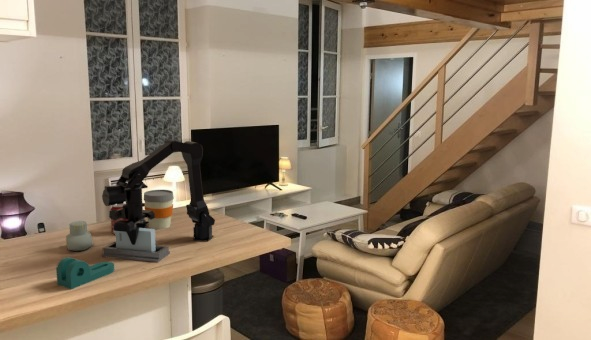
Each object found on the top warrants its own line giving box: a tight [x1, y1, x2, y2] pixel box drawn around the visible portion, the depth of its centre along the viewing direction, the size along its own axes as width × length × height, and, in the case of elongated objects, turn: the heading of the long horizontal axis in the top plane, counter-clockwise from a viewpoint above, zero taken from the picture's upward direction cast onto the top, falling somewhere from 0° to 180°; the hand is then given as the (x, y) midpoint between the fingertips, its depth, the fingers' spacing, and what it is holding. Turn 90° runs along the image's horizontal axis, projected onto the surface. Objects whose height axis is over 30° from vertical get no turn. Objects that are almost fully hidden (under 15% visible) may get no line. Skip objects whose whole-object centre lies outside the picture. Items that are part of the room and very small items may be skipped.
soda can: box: [109, 202, 128, 235], centre depth 203 cm, size 7×7×12 cm
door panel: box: [114, 227, 156, 252], centre depth 178 cm, size 14×3×8 cm, turn 78°
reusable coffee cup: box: [143, 189, 175, 230], centre depth 213 cm, size 13×13×15 cm
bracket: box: [55, 257, 115, 290], centre depth 158 cm, size 18×7×8 cm, turn 151°
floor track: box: [101, 240, 171, 263], centre depth 179 cm, size 22×9×3 cm, turn 78°
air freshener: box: [65, 220, 93, 252], centre depth 184 cm, size 11×8×10 cm
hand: (135, 243), depth 178 cm, fingers closed on door panel, 3 cm apart
